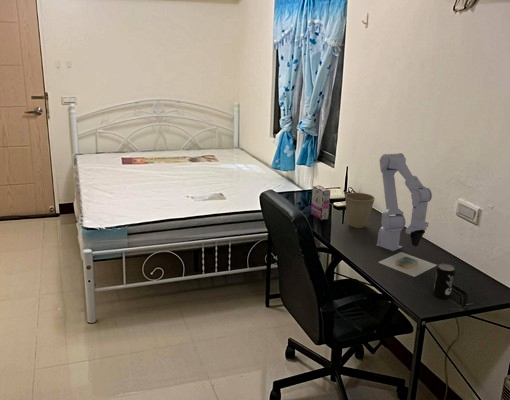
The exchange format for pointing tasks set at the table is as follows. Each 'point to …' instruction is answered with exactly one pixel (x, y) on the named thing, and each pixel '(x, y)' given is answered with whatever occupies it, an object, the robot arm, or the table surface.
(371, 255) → the table surface
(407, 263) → the wood tile
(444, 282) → the beverage can
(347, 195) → the plant pot
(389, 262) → the rubber mat
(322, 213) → the candy bar box
